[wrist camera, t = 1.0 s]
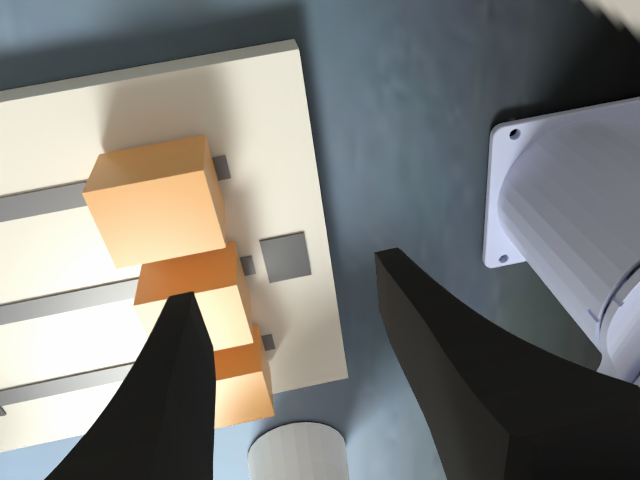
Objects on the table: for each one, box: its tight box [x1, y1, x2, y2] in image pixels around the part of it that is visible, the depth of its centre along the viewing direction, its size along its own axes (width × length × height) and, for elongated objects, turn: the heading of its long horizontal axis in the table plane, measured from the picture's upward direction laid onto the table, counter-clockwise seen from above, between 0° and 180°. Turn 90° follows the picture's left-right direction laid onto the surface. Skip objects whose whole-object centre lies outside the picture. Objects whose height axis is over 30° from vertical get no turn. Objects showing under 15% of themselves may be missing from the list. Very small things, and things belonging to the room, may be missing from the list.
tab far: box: [214, 324, 275, 429], centre depth 25 cm, size 4×3×3 cm
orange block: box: [82, 135, 226, 269], centre depth 19 cm, size 4×3×3 cm
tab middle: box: [133, 242, 254, 351], centre depth 22 cm, size 4×3×3 cm
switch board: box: [0, 39, 348, 452], centre depth 24 cm, size 20×18×2 cm
